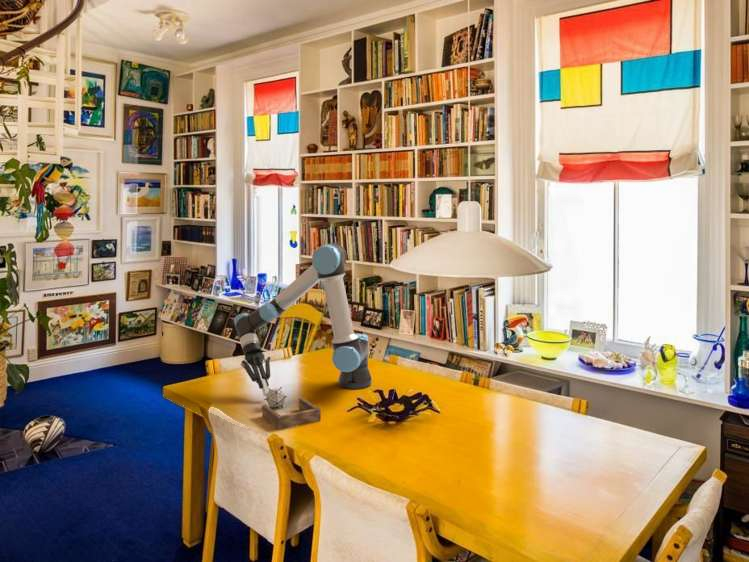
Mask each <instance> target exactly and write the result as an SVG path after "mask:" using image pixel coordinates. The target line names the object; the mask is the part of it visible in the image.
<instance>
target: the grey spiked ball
mask: <svg viewBox="0 0 749 562" xmlns="http://www.w3.org/2000/svg"><path fill="white" fill-rule="evenodd" d="M268 390H269V392H268V395H267V396H265V397H266V398H263V400H265V401H266V402H267V404H268V405H269V406H268V407H270V408H271V409H272V408H279V407H280V408H282V409H284V406H283V405H284V402H285V400H286V398H288V396H287V395H285V394H284V392H283V390H282V386H280V387H279V388H270V387H268Z"/></svg>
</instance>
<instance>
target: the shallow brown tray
mask: <svg viewBox="0 0 749 562" xmlns="http://www.w3.org/2000/svg"><path fill="white" fill-rule="evenodd" d="M261 408H262V409H261V411H262V413H261V416H262V418H263V419H265V420H266V421H267V422H269V424H271V426H273V427H275V428H276V429H277V430H284V429H288V428H289V429H290V428H293V427H292V426H294V427H297V426H296V425H298V426H302V425H301V424H303V425H307V424H306V423H308V424H311V422H312V423H316V421H317V422H320V420H321V419H322V417H321V415H322V411H321V410H322V409H321V408H319V407H318V406H316V405H314V403H311V402H310V401H309V400H307V399H305V398H303V397H300V398H298V410H299V409H300V410H299V411H297V412H292V413H287V414H282V415H281V414H279V413H278V411H277V412H276V411H275V410H274V409H272V408H270V406H268V405H267V404H263V405H262V406H261ZM321 421H322V420H321Z"/></svg>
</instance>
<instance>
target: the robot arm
mask: <svg viewBox="0 0 749 562" xmlns="http://www.w3.org/2000/svg"><path fill="white" fill-rule="evenodd" d="M347 257H348V254H347V251H346V249H345V248H344V247H343V245H341V244H340V243H335V242H331V243H327V244H322V245H320V246H319V247H317V248H316V249H315V251H314V252H313V253H312V256H311V264H312V265H310V266H309V267H308V268H307V269H306V270H304V271H303V272H302V273H301V274H300V275H299V276H297V278H296V279H295V280H293V281H292V282H291V283H290V284H289V285H288V286H286V288H284V289H283V290H282V291H281V292H280V293H278V294H277V295H276V296H275V297H274V298H272V300H270V301H269V302H267V303H264V304H262V305H260V307H258V308H256V309H255V310H254V311H252V312H251V313H247V312H242V313H240V314H239V313H238V314H237V315H236V316H235V317H234V319H233V323H234V327H235V331H236V333H237V337H238V339H239V342H240V346H241V348H242V352H243V355H244V360H241V363H240V365H241V367H243V369H244V370H245V371H246V373H247V375H248V377H249V378H250V380H251V381H252V383H253V382H255V383H256V384H257V385H258V389H260V390H262V391H261V392H262V394H263V396H264V397H267V395H268V392H269V389H268V388H269V386H270V385H269V381H268V380H269V379H270V378H271V365H270V364H271V363H270V362H271V356H268V357H267V356H266V355H265V354H264V353H263V351H262V346H261V344H260V341H259V338H258V335H257V332H256V331H257V330H259V329H261V328H262V327H264V326H265V325H267V324H269V323H270V322H272V321H273V320H275V319H277V318H280V317H281V316H282V315H283V313H284V312H285V311H286V310H287V309H290V307H291V306H292V305H294V303H296V302H297V301H298V300H299V299H300V298H301V297H303V296H304V295H306V294H307V293H308V291H310V290H311V289H312V288H313V287H315V286H316V285H317V284H318V283H319V282H322V284H323V289H324V293H325V295H324V296H325V299H326V303H327V308H328V309H327V310H328V313H329V318H330V323H331V327H332V333H333V339H332V340H331V346H332V351H333V352H332V357H331V359H332V360H331V361H332V364H333V365H334V367H335V368H336V369H337V370H338V371H340V373H339V377H338V379H337V380H338V381H337V382H338V383H337V384H338V386H339V387H341V388H344V389H349V390H350V389H351V390H352V389H353V390H358V389H359V390H361V389H366V388H369V387H371V386H372V385H371V384H372V383H373V381H372V375H371V373H370V369H369V336H368V335H367V334H364V333H355V331H354V325H353V320H352V316H351V311H350V306H349V302H348V301H349V300H348V296H347V293H346V288H345V282H344V277H345V275H346V269H345V264H346V262H347ZM263 362H264V363H265V364H264V365H263ZM264 366H265V367H264Z"/></svg>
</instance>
